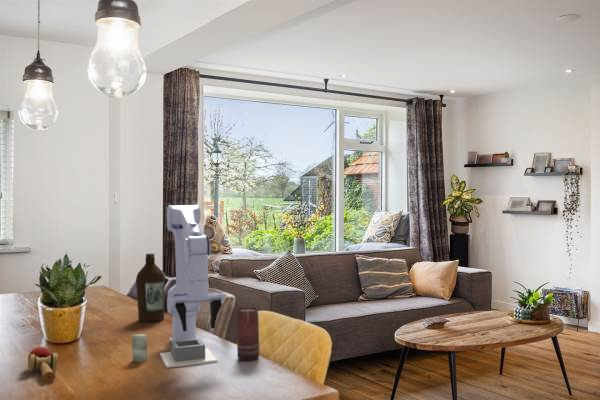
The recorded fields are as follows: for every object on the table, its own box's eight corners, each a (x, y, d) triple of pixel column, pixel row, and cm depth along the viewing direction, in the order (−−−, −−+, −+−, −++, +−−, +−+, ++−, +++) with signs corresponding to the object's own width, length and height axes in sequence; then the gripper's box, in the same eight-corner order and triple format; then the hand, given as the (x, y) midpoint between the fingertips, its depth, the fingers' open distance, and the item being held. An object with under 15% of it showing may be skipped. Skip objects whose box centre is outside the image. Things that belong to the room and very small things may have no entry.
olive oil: (132, 319, 227) (131, 253, 226) (159, 315, 233) (157, 251, 233) (143, 324, 218) (141, 255, 218) (170, 320, 224) (168, 253, 224)
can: (239, 362, 165) (238, 312, 165) (236, 356, 172) (235, 308, 171) (261, 360, 167) (260, 310, 167) (256, 354, 173) (255, 306, 173)
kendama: (68, 384, 154) (55, 359, 169) (64, 362, 152) (50, 338, 167) (36, 395, 150) (25, 368, 165) (31, 372, 148) (21, 347, 163)
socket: (160, 355, 175) (159, 340, 175) (207, 350, 179) (207, 335, 179) (166, 367, 161) (166, 351, 161) (217, 362, 166) (216, 346, 166)
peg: (132, 359, 171) (131, 334, 171) (146, 357, 172) (145, 333, 172) (133, 362, 167) (132, 337, 167) (147, 361, 168) (147, 336, 168)
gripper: (172, 283, 156) (174, 334, 156) (227, 279, 161) (228, 329, 161) (169, 279, 163) (170, 329, 163) (221, 276, 168) (222, 324, 168)
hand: (198, 329), depth 163 cm, fingers open, 7 cm apart
